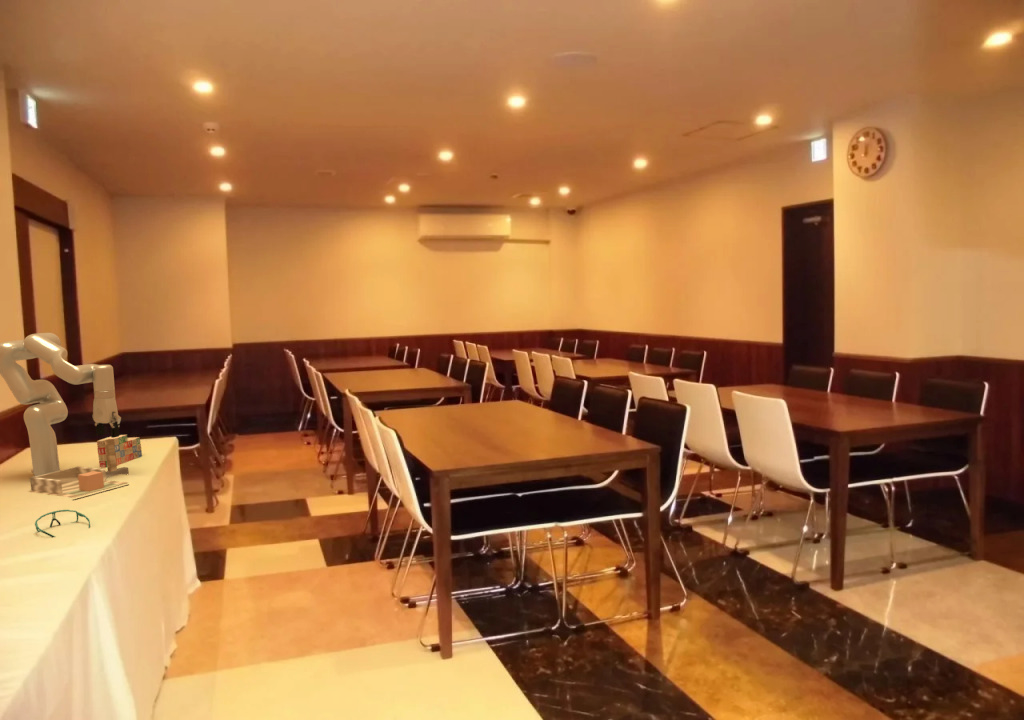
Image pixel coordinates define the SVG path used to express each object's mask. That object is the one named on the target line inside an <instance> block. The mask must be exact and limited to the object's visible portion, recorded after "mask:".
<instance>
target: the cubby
mask: <svg viewBox="0 0 1024 720" xmlns="http://www.w3.org/2000/svg"><path fill="white" fill-rule="evenodd" d="M92 471H96V472H103V481H104V488H100V489H97V490H93V491H81V490H80V489H79V481H78V475H80V474H84V473H88V472H92ZM105 472H106V469H105V468H97V467H86V466H74V467H69V468H65V469H62V470H61V469H60V471H57V472H53V473H48V474H44V475H40V476H36V477H32V476H31V477H32V478H29V481H30V489H31V490H28V491H27V492H28V493H34V494H40V495H41V494H42V495H51V496H56V497H57V496H58V497H62V498H63V497H64V498H69V499H70V498H72V501H78V500H81V499H85V498H87V497H88V498H89V497H92V496H95V495H99V494H103V493H106V492H110V491H114V490H116V489H121V488H124V487H127V486H130V484H128V482H126V481H125V482H124V481H117V480H116V481H115V480H108V479H107V478H106V473H105Z"/></svg>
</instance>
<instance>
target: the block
mask: <svg viewBox="0 0 1024 720" xmlns="http://www.w3.org/2000/svg"><path fill="white" fill-rule="evenodd" d="M78 481H79V489H80V490H81V491H93V490H97V489H100V488H104V481H103V472H96V471H92V472H88V473H84V474H80V475H78Z"/></svg>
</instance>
